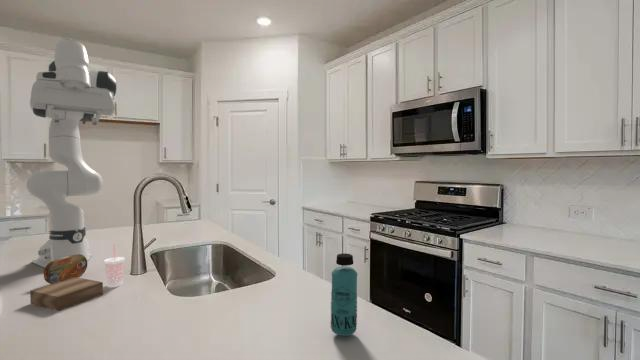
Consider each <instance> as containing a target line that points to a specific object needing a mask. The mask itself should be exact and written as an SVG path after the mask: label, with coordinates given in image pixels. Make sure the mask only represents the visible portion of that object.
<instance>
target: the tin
mask: <svg viewBox="0 0 640 360" xmlns="http://www.w3.org/2000/svg"><path fill="white" fill-rule="evenodd" d="M87 268H88V260H87V259H86V258H85V256H83V255H81V254H77V255H71V256H67V257H64V258H61V259H57V260H54V261H51V262H50V263H48V264H47V266H46V267H45V268H44V269H43V278H44V280H45V282H46V283H48V284H49V285H51V284H54V283H58V282H61V281H64V280H68V279H71V278H74V277H78V278H81V276H83V275H84V274H85V272H86V271H87Z"/></svg>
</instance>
